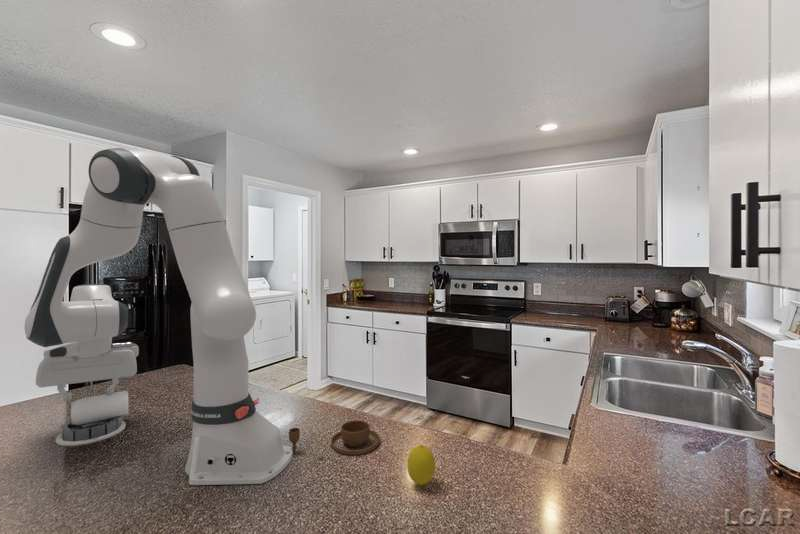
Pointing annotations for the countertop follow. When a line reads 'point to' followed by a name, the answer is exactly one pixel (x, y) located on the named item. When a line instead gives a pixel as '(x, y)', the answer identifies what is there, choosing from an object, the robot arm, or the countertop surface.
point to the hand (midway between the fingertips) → (89, 397)
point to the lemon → (421, 464)
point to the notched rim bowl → (89, 432)
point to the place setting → (345, 437)
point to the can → (99, 408)
